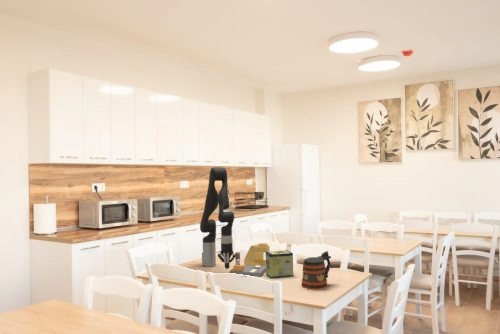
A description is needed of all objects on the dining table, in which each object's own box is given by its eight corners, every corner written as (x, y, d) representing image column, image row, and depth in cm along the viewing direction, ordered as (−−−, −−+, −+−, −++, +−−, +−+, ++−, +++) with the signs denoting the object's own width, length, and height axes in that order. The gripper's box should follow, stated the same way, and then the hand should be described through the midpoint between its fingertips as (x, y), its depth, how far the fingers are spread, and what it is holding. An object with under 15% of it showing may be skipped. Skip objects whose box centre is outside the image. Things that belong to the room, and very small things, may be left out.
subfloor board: (229, 276, 274) (229, 271, 274) (237, 269, 292) (237, 264, 292) (260, 277, 268) (260, 272, 268) (267, 270, 287) (267, 265, 287)
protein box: (265, 275, 274) (265, 251, 274) (288, 273, 278) (287, 249, 278) (270, 279, 264) (269, 254, 264) (293, 277, 267) (293, 252, 268)
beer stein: (320, 281, 256) (319, 248, 256) (338, 287, 244) (337, 252, 244) (296, 287, 245) (295, 252, 245) (313, 293, 233) (313, 256, 233)
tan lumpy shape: (272, 266, 298) (272, 244, 298) (262, 269, 292) (262, 245, 292) (253, 262, 313) (253, 240, 313) (244, 264, 307) (243, 242, 307)
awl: (234, 268, 282) (234, 253, 283) (236, 267, 286) (236, 252, 286) (239, 268, 282) (239, 253, 282) (240, 267, 285) (240, 252, 285)
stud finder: (233, 270, 274) (233, 265, 274) (235, 269, 278) (235, 264, 278) (242, 271, 272) (242, 266, 272) (244, 269, 276) (243, 264, 276)
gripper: (215, 242, 275) (215, 269, 275) (234, 243, 272) (235, 270, 272) (219, 240, 283) (219, 266, 282) (238, 241, 279) (238, 267, 279)
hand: (227, 268), depth 277 cm, fingers closed
